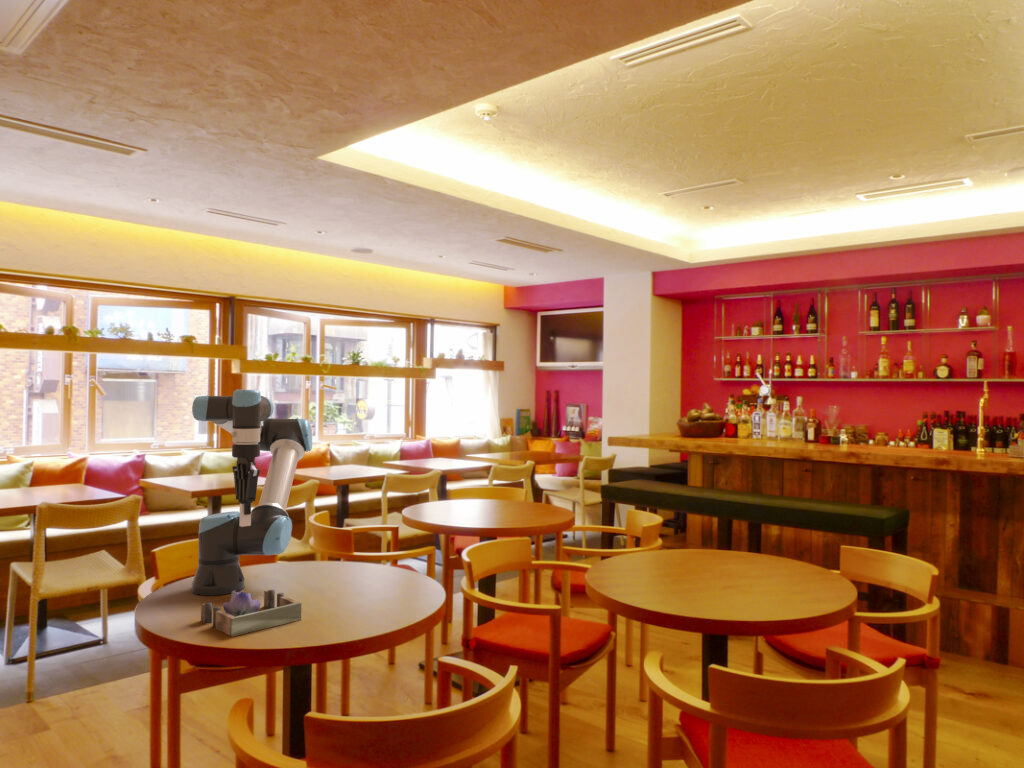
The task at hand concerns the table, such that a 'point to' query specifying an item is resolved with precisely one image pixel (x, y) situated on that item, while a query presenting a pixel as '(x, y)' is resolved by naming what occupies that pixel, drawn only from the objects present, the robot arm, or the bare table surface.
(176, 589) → the table surface
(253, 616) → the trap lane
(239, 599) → the flower
